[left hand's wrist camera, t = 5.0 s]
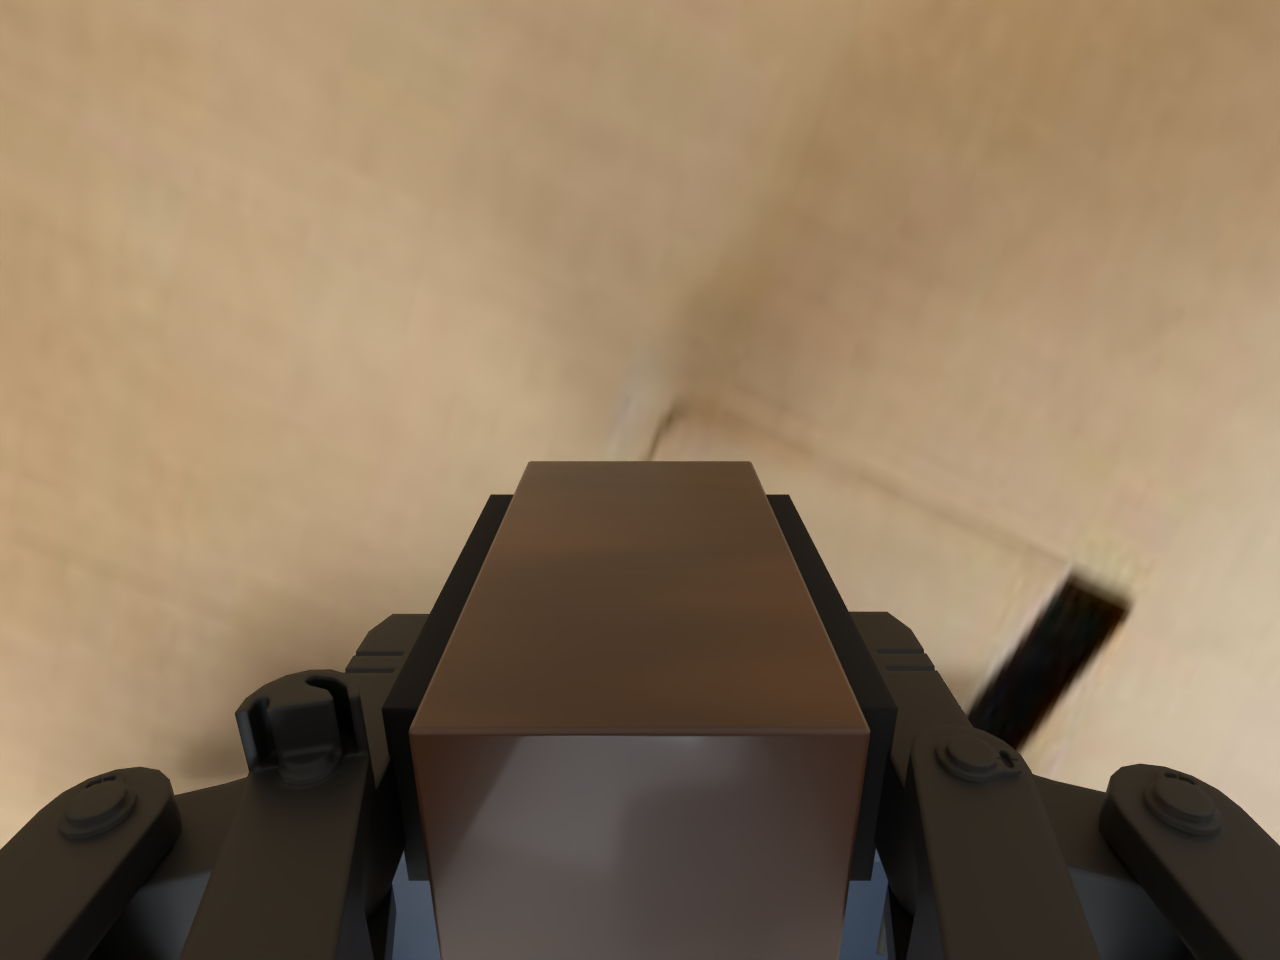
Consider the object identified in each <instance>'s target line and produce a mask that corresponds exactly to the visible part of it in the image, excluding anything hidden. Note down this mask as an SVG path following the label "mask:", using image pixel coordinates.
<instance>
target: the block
mask: <svg viewBox="0 0 1280 960" xmlns="http://www.w3.org/2000/svg"><path fill="white" fill-rule="evenodd" d="M409 738H410V746H411V753H412V760H413V767H414V774H415V781H416V789H417V796H418V803H419V810H420V817H421V825H422V832H423V839H424V846H425V853H426V860H427V868H428V875H429V882H430V889H431V896H432V904H433V911H434V918H435V925H436V932H437V939H438V947H439V954H440V960H839V955H840V948H841V940H842V933H843V926H844V919H845V912H846V904H847V897H848V890H849V883H850V876H851V868H852V861H853V854H854V847H855V840H856V832H857V825H858V818H859V811H860V804H861V796H862V789H863V782H864V775H865V767H866V760H867V753H868V746H869V739H870V729H869V727H868V724H867V722H866V720H865V718H864V715H863V713H862V711H861V709H860V706H859V704H858V702H857V700H856V697H855V695H854V693H853V691H852V688H851V686H850V684H849V682H848V679H847V677H846V675H845V673H844V670H843V668H842V666H841V663H840V661H839V659H838V657H837V654H836V652H835V650H834V648H833V645H832V643H831V641H830V639H829V636H828V634H827V632H826V630H825V627H824V625H823V623H822V621H821V618H820V616H819V614H818V612H817V609H816V607H815V605H814V603H813V600H812V598H811V596H810V594H809V591H808V589H807V587H806V585H805V582H804V580H803V578H802V575H801V573H800V571H799V569H798V566H797V564H796V562H795V560H794V557H793V555H792V553H791V551H790V548H789V546H788V544H787V542H786V539H785V537H784V535H783V533H782V530H781V528H780V526H779V524H778V521H777V519H776V517H775V515H774V512H773V510H772V508H771V506H770V503H769V501H768V499H767V497H766V494H765V492H764V490H763V487H762V485H761V483H760V481H759V478H758V476H757V474H756V472H755V469H754V467H753V465H752V463H751V462H749V461H531V462H528V464H527V467H526V469H525V471H524V473H523V476H522V478H521V480H520V482H519V485H518V487H517V489H516V491H515V493H514V496H513V498H512V500H511V502H510V505H509V507H508V509H507V511H506V514H505V516H504V518H503V520H502V523H501V525H500V527H499V529H498V532H497V534H496V536H495V538H494V541H493V543H492V545H491V547H490V550H489V552H488V554H487V556H486V558H485V561H484V563H483V565H482V567H481V570H480V572H479V574H478V576H477V579H476V581H475V583H474V585H473V588H472V590H471V592H470V594H469V597H468V599H467V601H466V603H465V606H464V608H463V610H462V612H461V615H460V617H459V619H458V621H457V623H456V626H455V628H454V630H453V632H452V635H451V637H450V639H449V641H448V644H447V646H446V648H445V650H444V653H443V655H442V657H441V659H440V662H439V664H438V666H437V668H436V671H435V673H434V675H433V677H432V680H431V682H430V684H429V686H428V689H427V691H426V693H425V695H424V697H423V700H422V702H421V704H420V706H419V709H418V711H417V713H416V715H415V718H414V720H413V722H412V724H411V727H410V729H409Z"/></svg>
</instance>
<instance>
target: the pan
mask: <svg viewBox="0 0 1280 960" xmlns="http://www.w3.org/2000/svg"><path fill="white" fill-rule="evenodd" d="M392 885H393V891H394V897H395V904H396V911H397V912H396V923H395V934H394V944H393V955H392V960H440V954H439V947H438V939H437V932H436V925H435V918H434V911H433V904H432V896H431V889H430V882H429V881H409V880H408V874H407V867H406V861H405V855H404V851H403V854H402V857H401V860H400V862H399V865H398V868H397V871H396V873H395V876H394V879H393V882H392ZM887 885H888V879H887V877H886V874H885V871H884V868H883V866H882V863H881V860H880V858H879V855H878V852H877V849H876V852H875V858H874V864H873V871H872V877H871V881H850V883H849V890H848V897H847V904H846V912H845V919H844V926H843V933H842V940H841V948H840V955H839V960H888V953H887V950H886V956H883V955H878V954H876V952H877V945H878V938H879V932H880V926H881V920H882V915H883V909H884V903H885V897H886V891H887Z"/></svg>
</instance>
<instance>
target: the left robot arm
mask: <svg viewBox="0 0 1280 960" xmlns="http://www.w3.org/2000/svg"><path fill="white" fill-rule="evenodd" d="M513 496H514V495H490V497H489V499H488V501H487V503H486V505H485V507H484V509H483V511H482V513H481V515H480V517H479V519H478V521H477V523H476V525H475V527H474V529H473V530H472V532H471V534H470V536H469V538H468V540H467V542H466V544H465V546H464V548H463V550H462V552H461V554H460V556H459V558H458V560H457V562H456V564H455V566H454V568H453V570H452V572H451V574H450V575H449V577H448V579H447V581H446V583H445V585H444V587H443V589H442V591H441V593H440V595H439V597H438V599H437V601H436V603H435V605H434V607H433V609H432V611H431V613H430V614H392V615H391V616H389V617H388V618H387V619H385V620H384V621H383V622H381V623H380V624H379V625H377V626H376V627H374V628H373V629H372V630H370V631H369V632H368V634H367V636H366V637H365V639H364V640H363V642H362V643H361V645H360V647H359V648H358V650H357V651H356V656H353V658H352V659H351V661H350V662H349V664H348V666H347V667H346V669H345V670H346V671H345V673H342V672H338V671H334V670H308V671H303V672H299V673H295V674H290V675H286V676H284V677H282V678H279V679H277V680H275V681H273V682H270V683H268V684H266V685H264V686H262V687H261V688H260V689H258V690H257V691H255V692H254V693H253V694H251V695H250V696H248V697H247V698H246V699H245V700H244V702H243V703H242V704H241V706H240V707H239V708H238V710H237V711H236V712H235V716H236V720H237V724H238V728H239V732H240V736H241V740H242V744H243V748H244V752H245V756H246V760H247V764H248V768H249V774H248V776H247V777H246V778H243V779H240V780H236V781H233V782H230V783H226V784H222V785H218V786H213V787H209V788H205V789H200V790H196V791H192V792H187V793H183V794H179V795H174V792H173V789H172V786H171V783H170V779H168V778H167V777H166V776H165V775H164V774H163V773H162V772H161V771H159V770H155V769H150V768H144V767H134V768H126V769H118V770H114V771H111V772H108V773H105V774H102V775H98V776H96V777H93V778H90V779H87V780H85V781H84V782H82V783H80V784H78V785H76V786H74V787H72V788H70V789H69V790H67V791H65V792H63V793H61V794H60V795H59V796H58V797H56V798H55V799H54V800H53V801H51V802H50V803H49V804H48V805H46V806H45V807H44V808H42V809H41V810H40V811H39V812H38V813H37V814H36V815H35V816H34V817H33V818H32V819H31V820H30V821H29V822H28V823H27V824H26V825H25V826H24V827H23V828H22V829H21V830H20V831H19V832H18V833H17V834H16V835H15V836H14V837H13V838H12V839H11V840H10V841H9V842H8V843H7V844H6V845H5V846H4V847H3V848H2V849H1V850H0V960H392V955H393V944H394V934H395V923H396V912H397V911H396V904H395V897H394V891H393V885H392V882H393V879H394V876H395V873H396V871H397V868H398V865H399V862H400V860H401V857H402V854H403V851H404V855H405V861H406V867H407V874H408V880H409V881H429V875H428V868H427V860H426V853H425V846H424V839H423V832H422V825H421V817H420V810H419V803H418V796H417V789H416V781H415V774H414V767H413V760H412V753H411V746H410V738H409V729H410V727H411V724H412V722H413V720H414V718H415V715H416V713H417V711H418V709H419V706H420V704H421V702H422V700H423V697H424V695H425V693H426V691H427V689H428V686H429V684H430V682H431V680H432V677H433V675H434V673H435V671H436V668H437V666H438V664H439V662H440V659H441V657H442V655H443V653H444V650H445V648H446V646H447V644H448V641H449V639H450V637H451V635H452V632H453V630H454V628H455V626H456V623H457V621H458V619H459V617H460V615H461V612H462V610H463V608H464V606H465V603H466V601H467V599H468V597H469V594H470V592H471V590H472V588H473V585H474V583H475V581H476V579H477V576H478V574H479V572H480V570H481V567H482V565H483V563H484V561H485V558H486V556H487V554H488V552H489V550H490V547H491V545H492V543H493V541H494V538H495V536H496V534H497V532H498V529H499V527H500V525H501V523H502V520H503V518H504V516H505V514H506V511H507V509H508V507H509V505H510V502H511V500H512V498H513ZM766 497H767V499H768V501H769V503H770V506H771V508H772V510H773V512H774V515H775V517H776V519H777V521H778V524H779V526H780V528H781V530H782V533H783V535H784V537H785V539H786V542H787V544H788V546H789V548H790V551H791V553H792V555H793V557H794V560H795V562H796V564H797V566H798V569H799V571H800V573H801V575H802V578H803V580H804V582H805V585H806V587H807V589H808V591H809V594H810V596H811V598H812V600H813V603H814V605H815V607H816V609H817V612H818V614H819V616H820V618H821V621H822V623H823V625H824V627H825V630H826V632H827V634H828V636H829V639H830V641H831V643H832V645H833V648H834V650H835V652H836V654H837V657H838V659H839V661H840V663H841V666H842V668H843V670H844V673H845V675H846V677H847V679H848V682H849V684H850V686H851V688H852V691H853V693H854V695H855V697H856V700H857V702H858V704H859V706H860V709H861V711H862V713H863V715H864V718H865V720H866V722H867V724H868V727H869V729H870V739H869V746H868V753H867V760H866V767H865V775H864V782H863V789H862V796H861V804H860V811H859V818H858V825H857V832H856V840H855V847H854V854H853V861H852V868H851V876H850V881H871V877H872V871H873V864H874V858H875V852H876V849H877V852H878V855H879V858H880V860H881V863H882V866H883V868H884V871H885V874H886V877H887V879H888V885H887V891H886V897H885V903H884V909H883V915H882V920H881V926H880V932H879V938H878V945H877V952H876V954H878V955H883V956H886V950H887V953H888V960H1280V846H1279V845H1278V844H1277V843H1276V842H1275V841H1274V840H1273V839H1272V838H1271V837H1270V836H1269V835H1268V834H1267V833H1266V832H1265V831H1264V830H1263V829H1262V828H1261V827H1260V826H1259V825H1258V824H1257V823H1256V822H1255V821H1254V820H1253V819H1252V818H1251V817H1250V816H1249V815H1248V814H1247V813H1246V812H1245V811H1244V810H1243V809H1242V808H1241V807H1240V806H1238V805H1237V804H1236V803H1235V802H1233V801H1232V800H1231V799H1229V798H1228V797H1227V796H1226V795H1224V794H1223V793H1222V792H1221V791H1219V790H1218V789H1216V788H1214V787H1212V786H1210V785H1208V784H1207V783H1205V782H1203V781H1201V780H1199V779H1197V778H1195V777H1193V776H1191V775H1188V774H1185V773H1182V772H1179V771H1176V770H1173V769H1170V768H1167V767H1163V766H1155V765H1146V764H1136V765H1130V766H1125V767H1121V768H1120V769H1119V770H1117V771H1116V772H1115V773H1114V774H1113V775H1112V776H1111V777H1110V781H1109V784H1108V787H1107V790H1106V792H1101V791H1097V790H1092V789H1088V788H1084V787H1079V786H1075V785H1071V784H1066V783H1062V782H1057V781H1053V780H1050V779H1047V778H1043V777H1040V776H1037V775H1034V774H1032V772H1031V770H1030V769H1029V767H1028V765H1027V764H1026V762H1025V761H1024V759H1023V758H1022V756H1021V755H1020V754H1019V753H1018V752H1017V751H1015V750H1014V749H1013V748H1012V747H1011V746H1009V745H1008V744H1007V743H1006V742H1004V741H1003V740H1001V739H999V738H997V737H995V736H993V735H991V734H989V733H987V732H985V731H983V730H980V729H976V728H973V726H972V725H971V723H970V721H969V720H968V718H967V717H966V715H965V714H964V712H963V710H962V709H961V707H960V706H959V704H958V703H957V701H956V699H955V698H954V696H953V695H952V693H951V692H950V690H949V688H948V687H947V685H946V684H945V682H944V681H943V679H942V677H941V676H940V674H939V673H938V671H935V669H934V665H933V663H932V662H931V660H930V659H929V657H928V655H927V654H924V649H923V648H922V646H921V644H920V643H919V641H918V640H917V638H916V637H915V635H914V633H913V632H912V630H911V629H910V628H908V627H907V626H906V625H904V624H903V623H902V622H900V621H899V620H898V619H896V618H895V617H894V616H892V615H891V614H889V613H888V612H848V610H847V608H846V606H845V604H844V602H843V600H842V598H841V596H840V594H839V592H838V590H837V588H836V586H835V584H834V582H833V580H832V578H831V576H830V574H829V573H828V571H827V569H826V567H825V565H824V563H823V561H822V559H821V557H820V555H819V553H818V551H817V549H816V547H815V545H814V543H813V541H812V539H811V537H810V535H809V533H808V531H807V529H806V528H805V526H804V524H803V522H802V520H801V518H800V516H799V514H798V512H797V510H796V508H795V506H794V504H793V502H792V500H791V498H790V496H789V495H766Z"/></svg>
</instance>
